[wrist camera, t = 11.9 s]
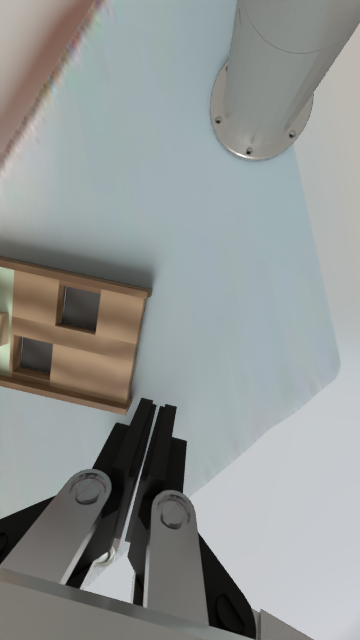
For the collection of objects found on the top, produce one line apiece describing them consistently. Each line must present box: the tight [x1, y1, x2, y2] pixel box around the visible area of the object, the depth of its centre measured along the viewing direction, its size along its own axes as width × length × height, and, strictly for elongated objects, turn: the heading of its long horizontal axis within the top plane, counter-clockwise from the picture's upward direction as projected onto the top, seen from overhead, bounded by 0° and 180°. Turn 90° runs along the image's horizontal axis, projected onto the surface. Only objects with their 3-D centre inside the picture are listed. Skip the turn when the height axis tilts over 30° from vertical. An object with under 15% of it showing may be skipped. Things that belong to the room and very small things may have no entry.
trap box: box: [0, 256, 152, 415], centre depth 39 cm, size 20×28×5 cm
